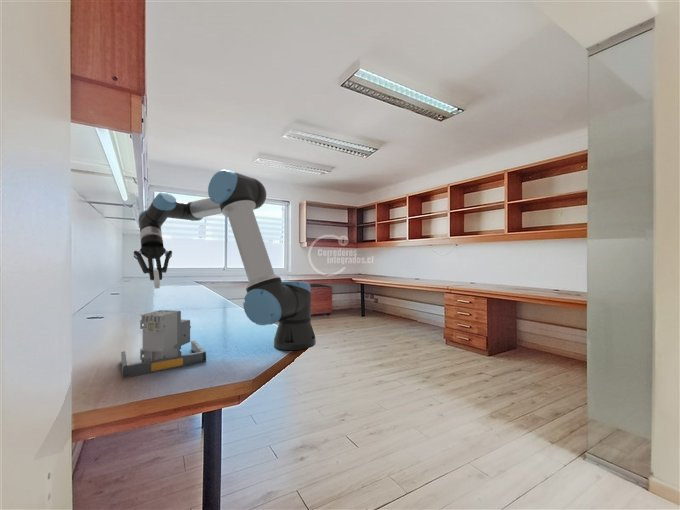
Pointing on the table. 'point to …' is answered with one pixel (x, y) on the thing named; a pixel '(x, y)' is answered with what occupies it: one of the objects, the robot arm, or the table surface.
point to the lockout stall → (163, 362)
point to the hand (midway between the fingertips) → (157, 285)
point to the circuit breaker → (163, 334)
